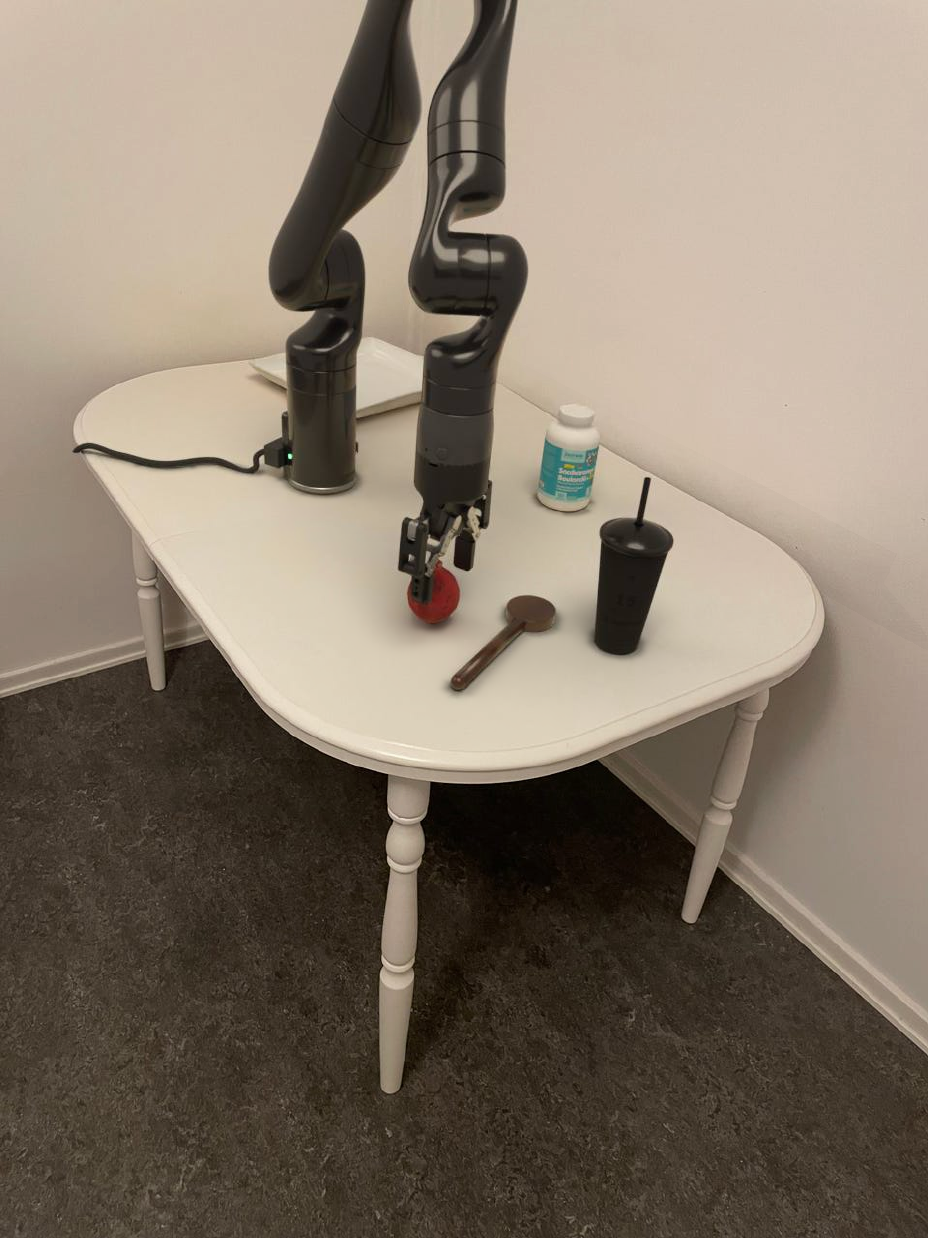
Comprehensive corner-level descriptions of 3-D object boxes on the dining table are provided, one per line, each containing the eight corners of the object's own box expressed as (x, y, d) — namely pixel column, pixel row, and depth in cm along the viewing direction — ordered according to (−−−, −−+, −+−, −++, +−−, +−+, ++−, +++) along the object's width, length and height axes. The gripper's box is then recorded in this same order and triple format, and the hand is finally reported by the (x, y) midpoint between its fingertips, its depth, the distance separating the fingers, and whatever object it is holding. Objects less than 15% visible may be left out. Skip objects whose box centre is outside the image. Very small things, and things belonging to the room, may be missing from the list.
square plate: (246, 380, 165) (245, 358, 163) (371, 353, 181) (372, 333, 179) (341, 433, 149) (341, 409, 147) (469, 398, 166) (471, 377, 163)
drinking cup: (575, 622, 110) (602, 461, 98) (640, 623, 110) (674, 463, 99) (588, 662, 103) (618, 494, 92) (657, 663, 104) (695, 496, 93)
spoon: (430, 682, 98) (431, 669, 97) (519, 599, 113) (521, 588, 112) (477, 702, 96) (479, 689, 95) (562, 615, 111) (564, 604, 110)
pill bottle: (554, 517, 131) (567, 423, 124) (526, 494, 136) (538, 403, 129) (599, 508, 134) (615, 417, 127) (571, 486, 139) (584, 397, 132)
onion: (452, 640, 105) (457, 578, 100) (400, 632, 105) (403, 570, 101) (461, 612, 110) (466, 551, 105) (411, 605, 110) (415, 544, 106)
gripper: (459, 414, 101) (447, 547, 110) (380, 458, 91) (375, 601, 100) (521, 434, 98) (504, 569, 108) (447, 481, 88) (436, 626, 97)
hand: (442, 584), depth 104 cm, fingers open, 8 cm apart
